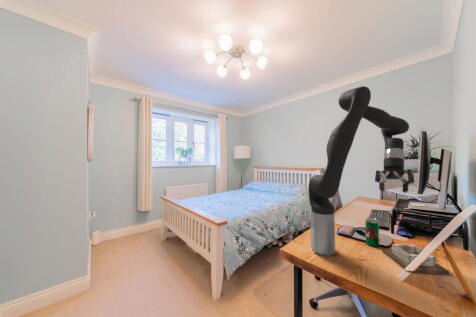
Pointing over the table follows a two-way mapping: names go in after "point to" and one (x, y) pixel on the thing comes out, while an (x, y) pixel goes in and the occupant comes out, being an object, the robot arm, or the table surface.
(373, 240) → the soda can
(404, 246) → the holder
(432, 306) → the table surface
